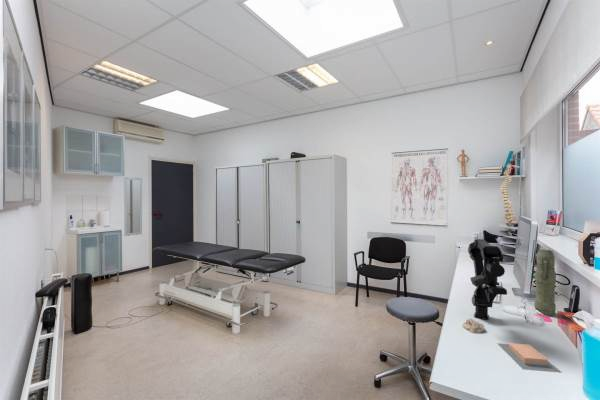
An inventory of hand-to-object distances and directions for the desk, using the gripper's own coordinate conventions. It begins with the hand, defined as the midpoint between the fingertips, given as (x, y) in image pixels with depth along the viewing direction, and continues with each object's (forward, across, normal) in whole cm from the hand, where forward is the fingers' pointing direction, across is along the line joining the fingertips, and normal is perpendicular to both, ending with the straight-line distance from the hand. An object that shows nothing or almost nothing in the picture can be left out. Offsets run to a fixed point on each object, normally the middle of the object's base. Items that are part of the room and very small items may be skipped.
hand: (490, 302), depth 142 cm
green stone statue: (+13, -25, +39) cm, 48 cm away
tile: (+11, +20, +2) cm, 23 cm away
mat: (+13, +25, +2) cm, 28 cm away
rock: (+14, +2, -8) cm, 16 cm away
